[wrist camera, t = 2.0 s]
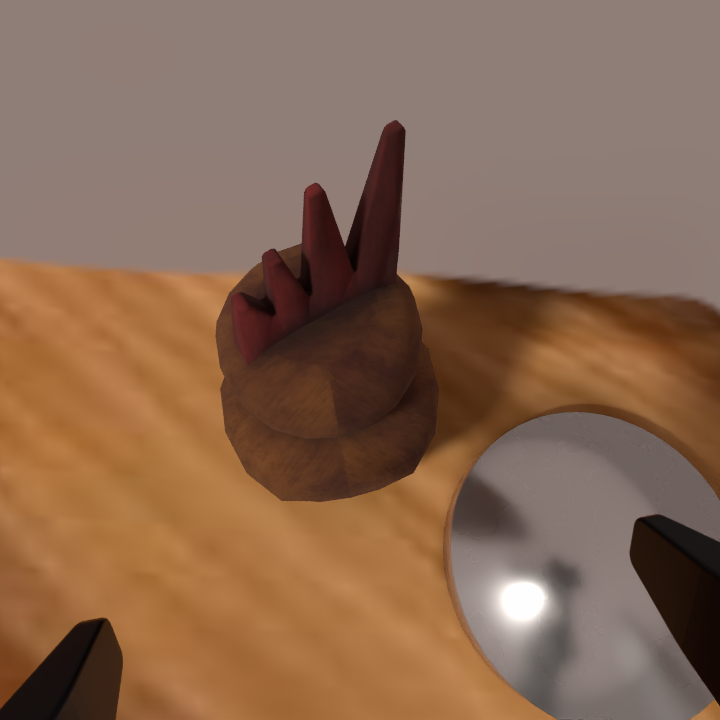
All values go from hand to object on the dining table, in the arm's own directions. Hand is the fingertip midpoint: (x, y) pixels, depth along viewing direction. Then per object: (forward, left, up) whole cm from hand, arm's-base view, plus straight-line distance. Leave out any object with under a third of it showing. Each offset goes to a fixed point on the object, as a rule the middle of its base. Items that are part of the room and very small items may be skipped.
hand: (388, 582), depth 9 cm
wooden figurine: (+5, +1, -12) cm, 13 cm away
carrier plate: (+1, -9, -12) cm, 15 cm away
